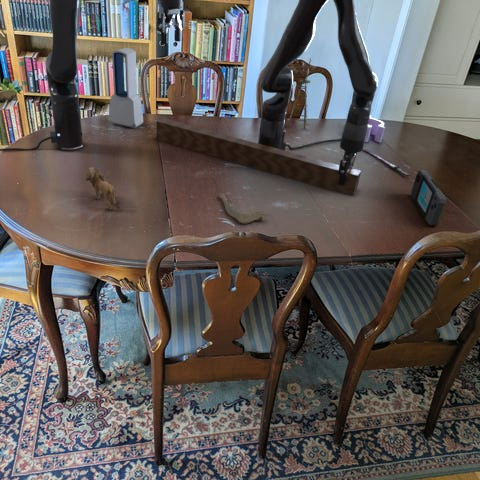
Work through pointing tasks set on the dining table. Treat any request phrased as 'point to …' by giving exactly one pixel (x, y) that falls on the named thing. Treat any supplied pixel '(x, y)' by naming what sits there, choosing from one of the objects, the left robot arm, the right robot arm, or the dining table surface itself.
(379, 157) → the sword
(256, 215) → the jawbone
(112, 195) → the lion figurine
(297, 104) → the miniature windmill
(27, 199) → the dining table surface
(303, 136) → the dining table surface
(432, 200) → the handheld gaming console
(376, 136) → the clip
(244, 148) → the post
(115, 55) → the electronic device
